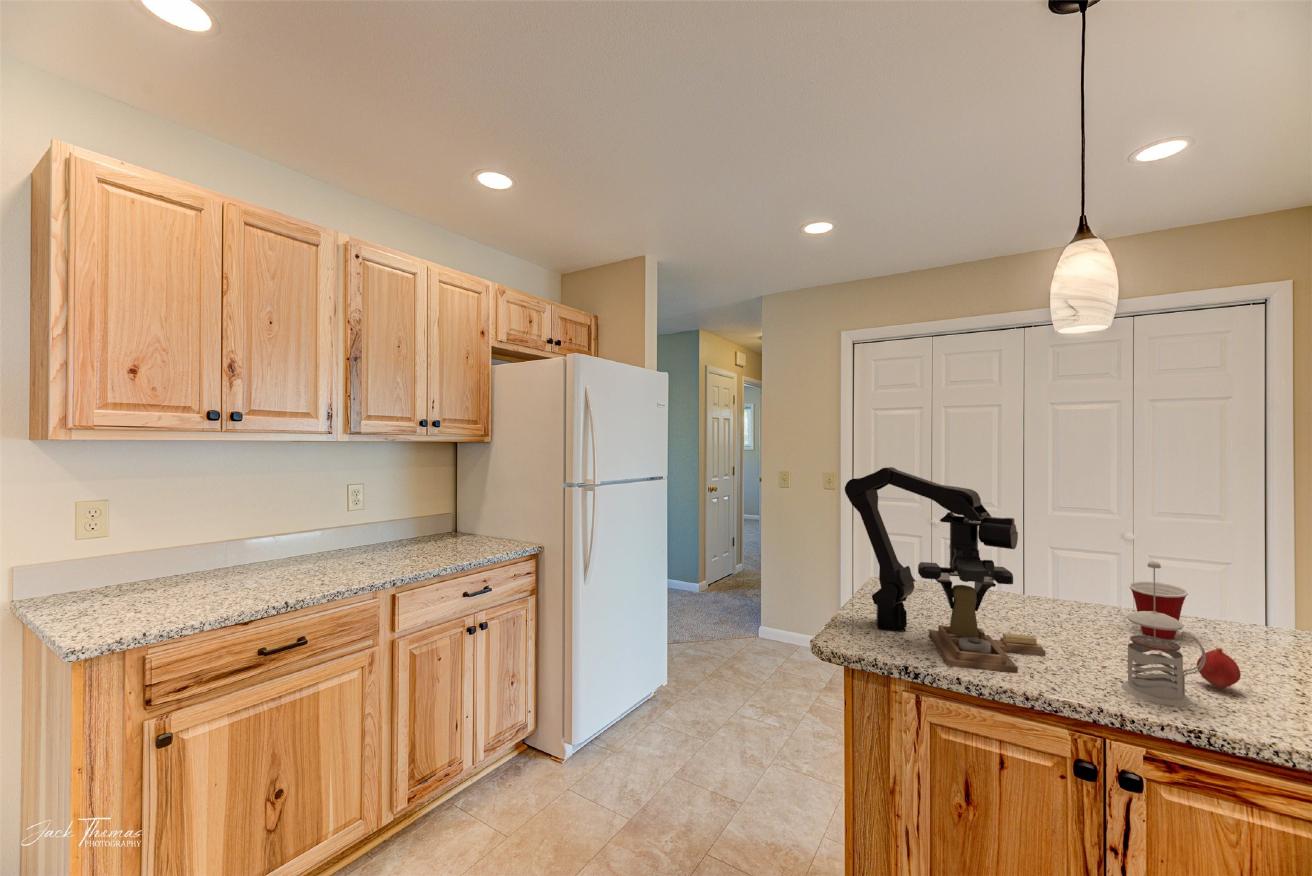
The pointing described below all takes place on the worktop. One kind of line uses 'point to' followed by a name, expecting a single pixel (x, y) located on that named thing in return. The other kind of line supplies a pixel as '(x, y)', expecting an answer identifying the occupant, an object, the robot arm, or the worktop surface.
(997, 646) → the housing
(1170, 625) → the french press
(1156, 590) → the plastic cup
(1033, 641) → the bar
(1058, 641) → the worktop surface
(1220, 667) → the onion
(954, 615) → the olive pepper mill
